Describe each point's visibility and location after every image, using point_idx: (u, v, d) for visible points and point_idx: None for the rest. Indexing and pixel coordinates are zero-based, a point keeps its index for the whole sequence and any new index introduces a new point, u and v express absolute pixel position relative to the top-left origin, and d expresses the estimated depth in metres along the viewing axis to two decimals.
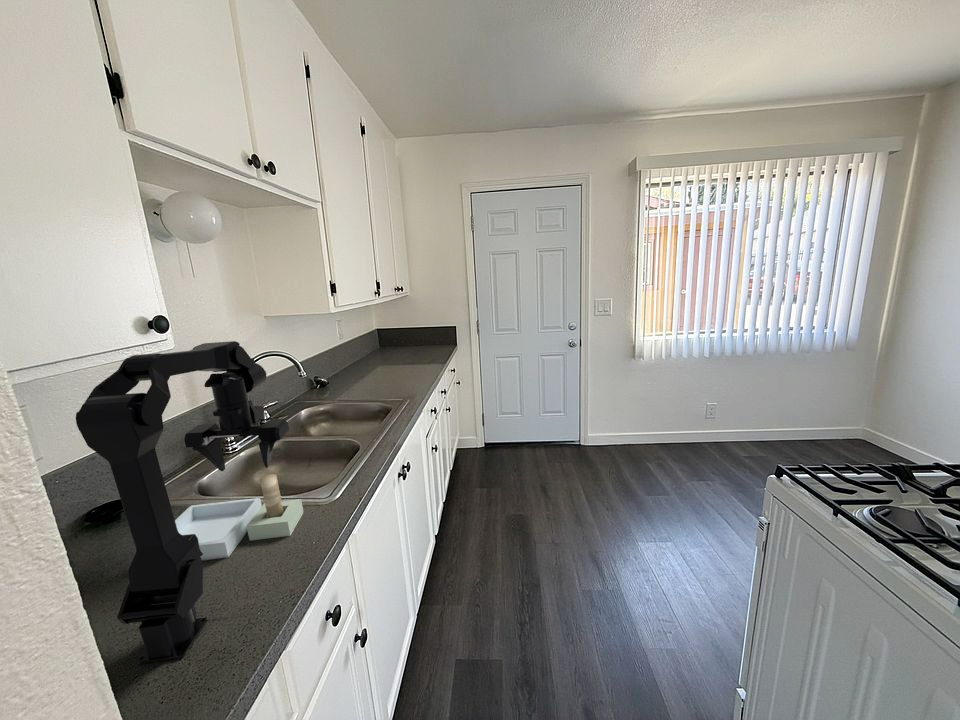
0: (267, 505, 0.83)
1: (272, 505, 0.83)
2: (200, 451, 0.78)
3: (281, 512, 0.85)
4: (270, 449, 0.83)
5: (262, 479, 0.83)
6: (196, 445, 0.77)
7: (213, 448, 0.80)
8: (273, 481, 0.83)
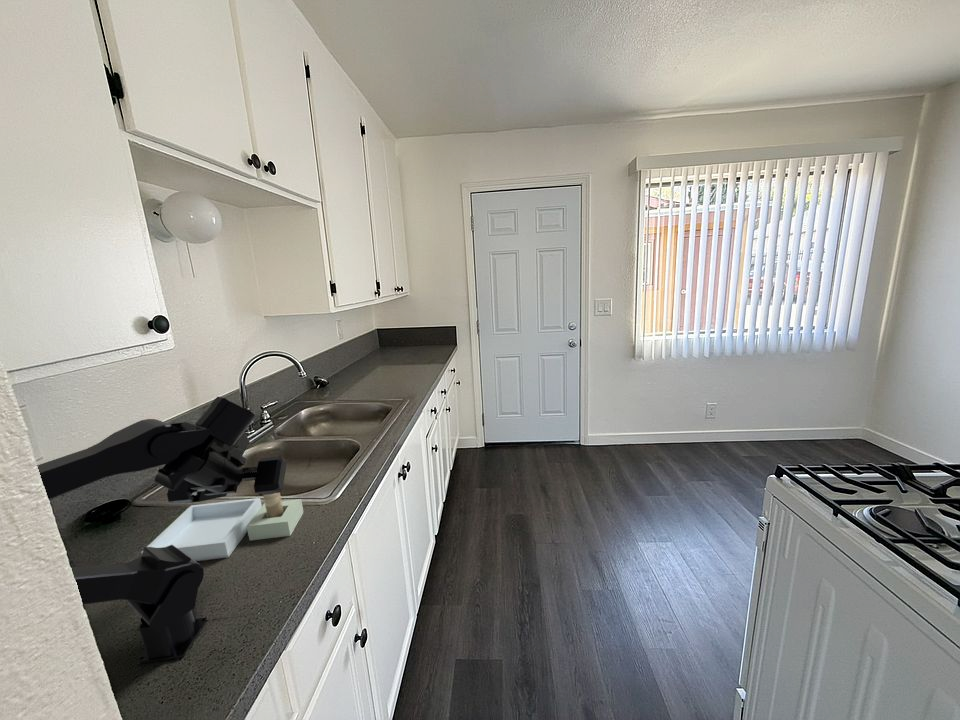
0: (267, 505, 0.83)
1: (272, 505, 0.83)
2: None
3: (281, 512, 0.85)
4: None
5: None
6: (186, 502, 0.67)
7: None
8: None
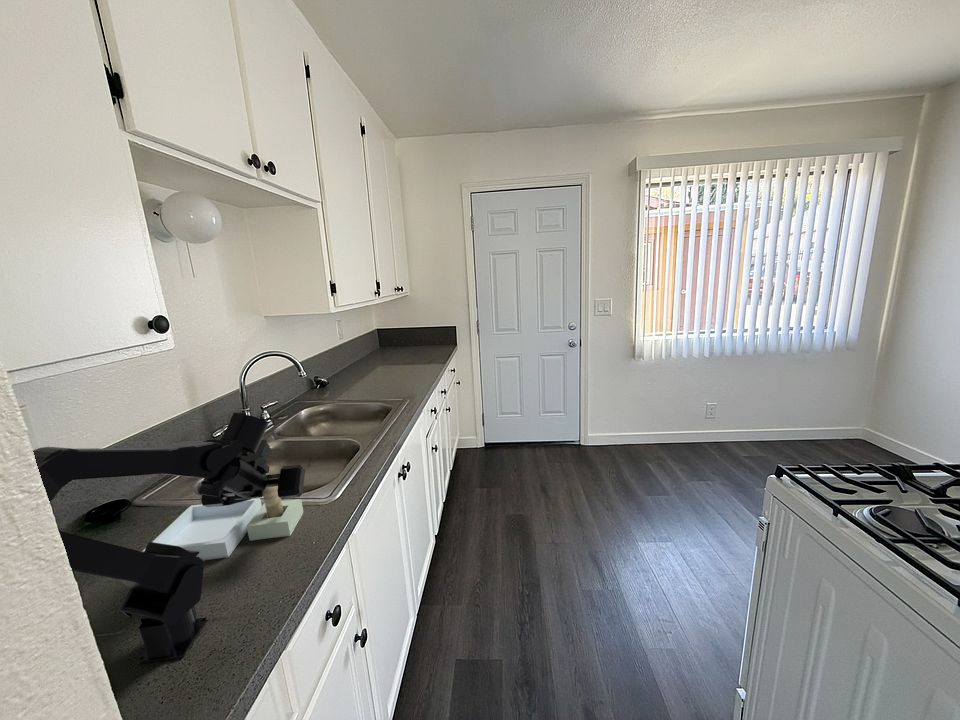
0: (267, 505, 0.83)
1: (272, 505, 0.83)
2: (224, 505, 0.77)
3: (281, 512, 0.85)
4: None
5: None
6: (218, 505, 0.76)
7: (234, 495, 0.79)
8: None
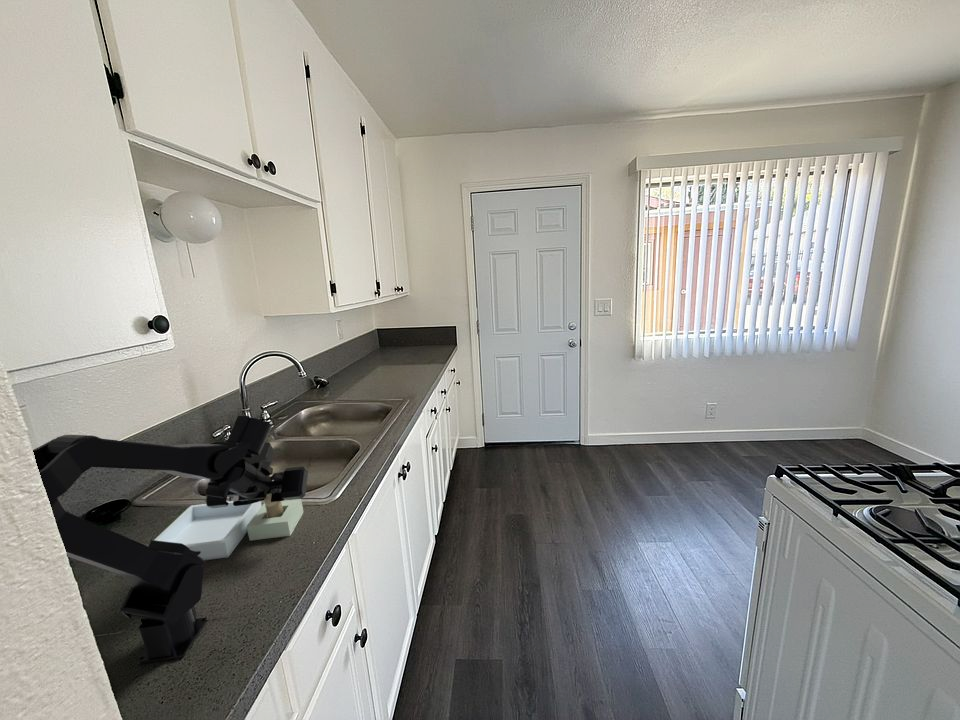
0: (267, 505, 0.83)
1: (272, 505, 0.83)
2: None
3: (281, 512, 0.85)
4: None
5: None
6: (222, 506, 0.77)
7: None
8: None
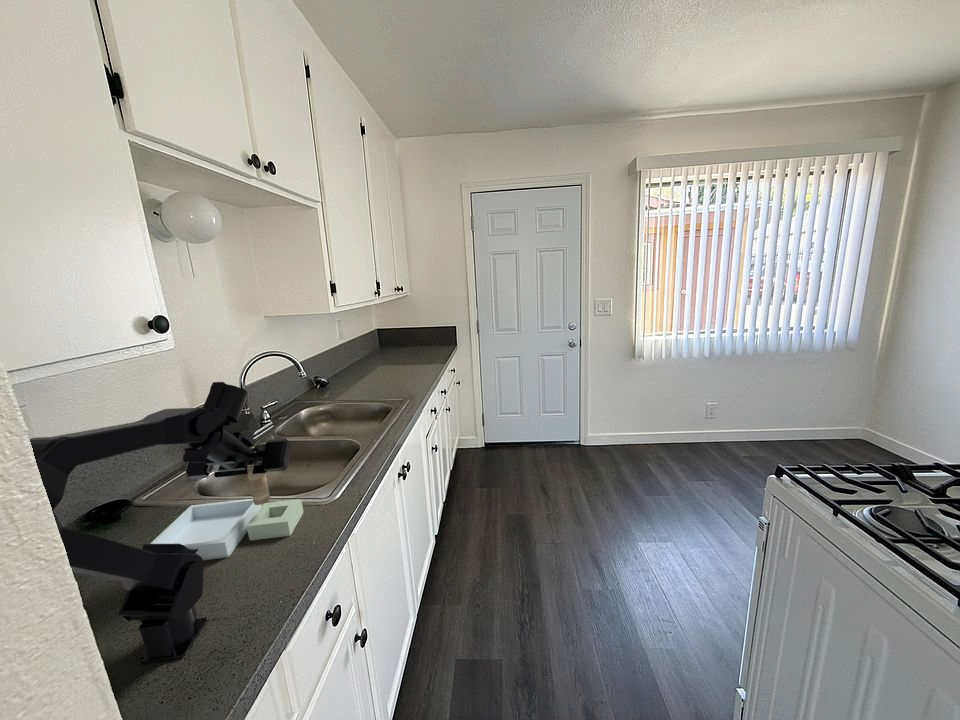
0: (250, 478, 0.81)
1: (255, 478, 0.81)
2: (224, 476, 0.77)
3: (265, 486, 0.83)
4: None
5: None
6: (203, 477, 0.75)
7: None
8: None
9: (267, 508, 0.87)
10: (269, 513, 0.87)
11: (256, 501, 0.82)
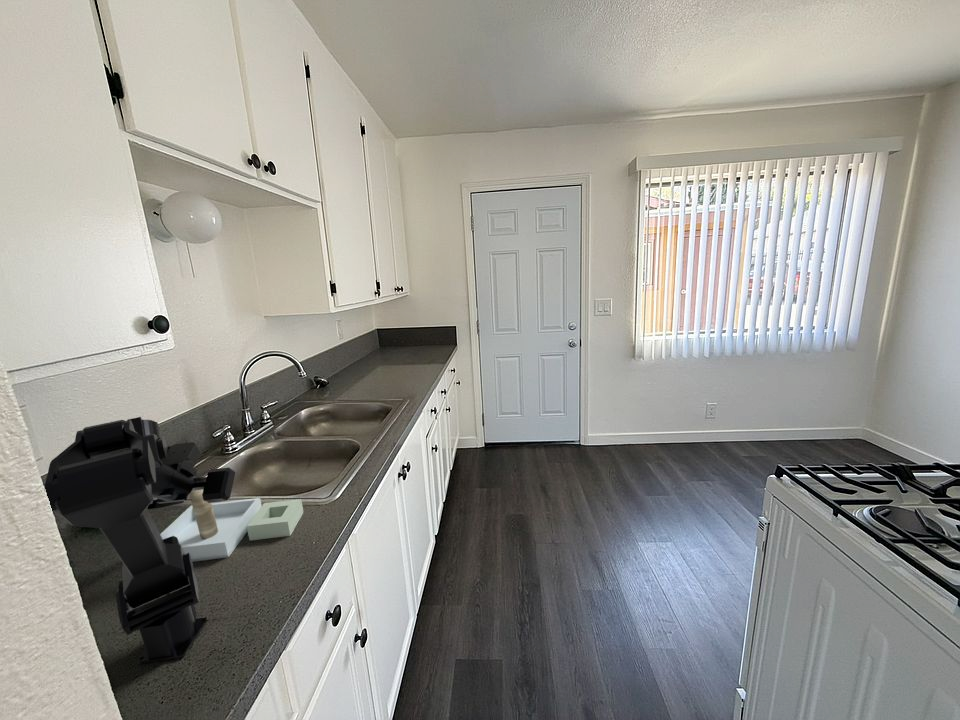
0: (196, 514, 0.81)
1: (201, 514, 0.81)
2: None
3: (212, 520, 0.82)
4: None
5: None
6: None
7: None
8: (202, 490, 0.80)
9: (267, 508, 0.87)
10: (269, 513, 0.87)
11: (202, 535, 0.82)
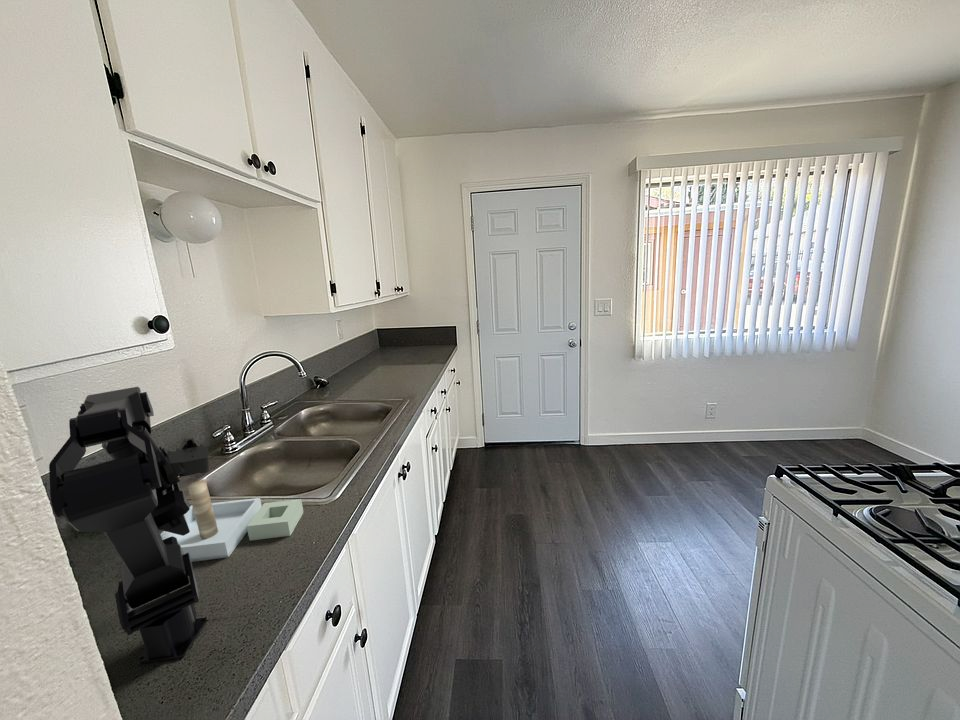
0: (196, 513, 0.81)
1: (201, 512, 0.81)
2: None
3: (212, 520, 0.83)
4: (177, 522, 0.66)
5: (190, 486, 0.81)
6: None
7: None
8: (202, 488, 0.81)
9: (267, 508, 0.87)
10: (269, 513, 0.87)
11: (202, 535, 0.82)
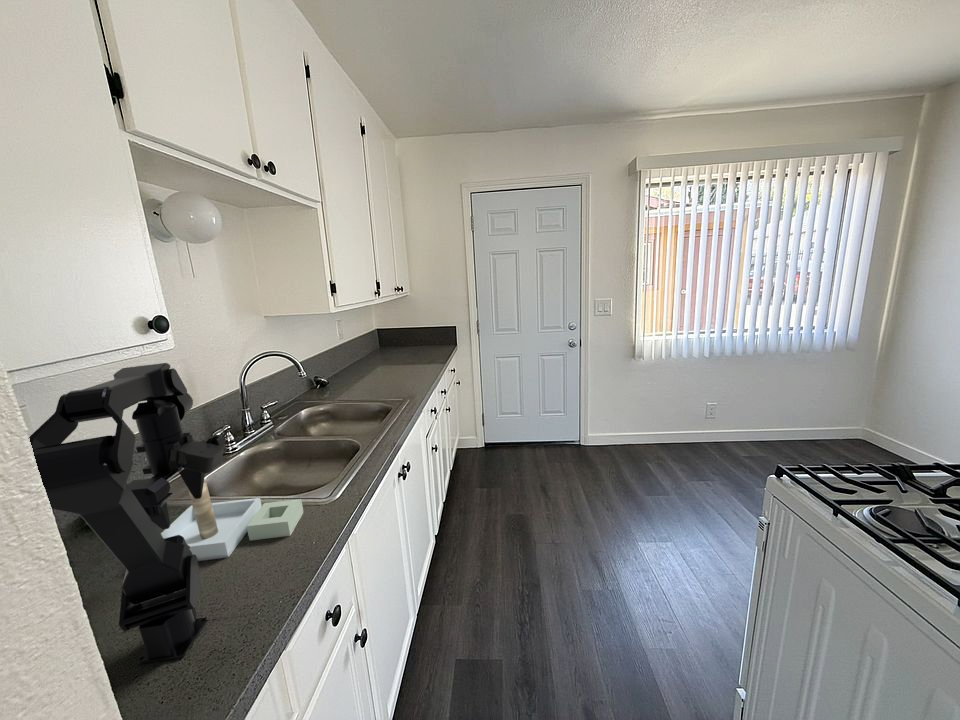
0: (196, 513, 0.81)
1: (201, 513, 0.81)
2: None
3: (212, 520, 0.83)
4: (156, 512, 0.64)
5: None
6: None
7: (187, 471, 0.74)
8: None
9: (267, 508, 0.87)
10: (269, 513, 0.87)
11: (202, 535, 0.82)
